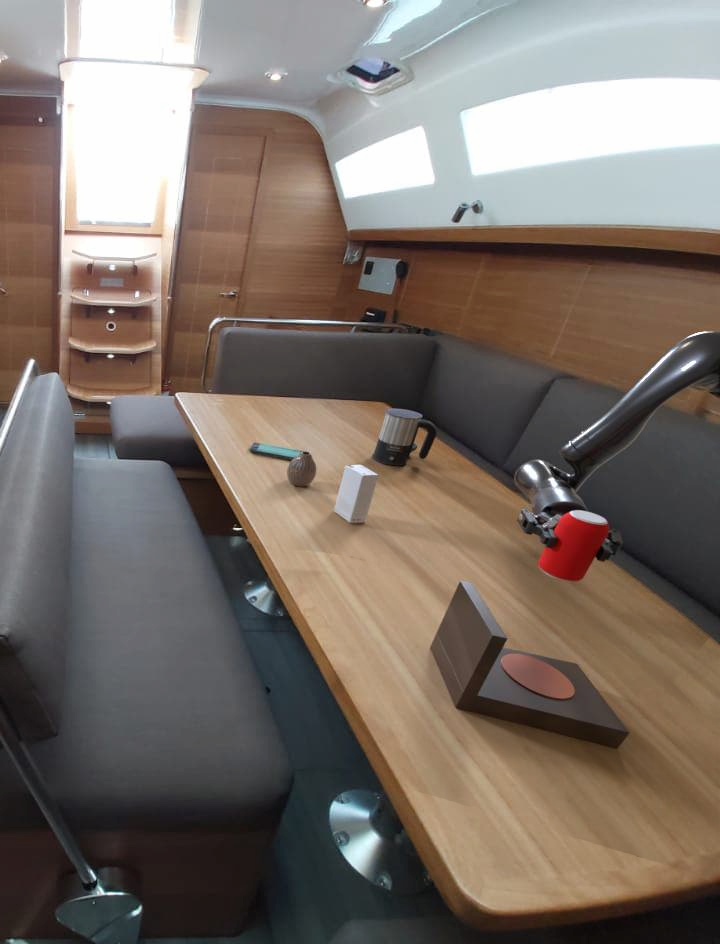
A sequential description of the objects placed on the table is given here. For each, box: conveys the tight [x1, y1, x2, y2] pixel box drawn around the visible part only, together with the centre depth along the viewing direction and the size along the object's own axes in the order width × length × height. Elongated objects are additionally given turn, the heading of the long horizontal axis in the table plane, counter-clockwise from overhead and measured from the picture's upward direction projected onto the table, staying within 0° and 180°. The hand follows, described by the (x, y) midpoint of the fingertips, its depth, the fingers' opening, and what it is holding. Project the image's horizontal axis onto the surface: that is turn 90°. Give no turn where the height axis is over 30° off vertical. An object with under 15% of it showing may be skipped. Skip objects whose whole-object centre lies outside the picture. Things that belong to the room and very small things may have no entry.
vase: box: [286, 450, 317, 488], centre depth 130 cm, size 7×7×9 cm
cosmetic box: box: [333, 464, 379, 524], centre depth 114 cm, size 6×4×12 cm
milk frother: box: [371, 408, 438, 467], centre depth 148 cm, size 14×16×15 cm
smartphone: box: [249, 442, 304, 461], centre depth 150 cm, size 7×1×15 cm
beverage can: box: [537, 510, 610, 583], centre depth 86 cm, size 6×6×12 cm
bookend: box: [429, 580, 630, 749], centre depth 68 cm, size 18×12×13 cm, turn 72°
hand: (577, 549), depth 84 cm, fingers closed on beverage can, 6 cm apart
